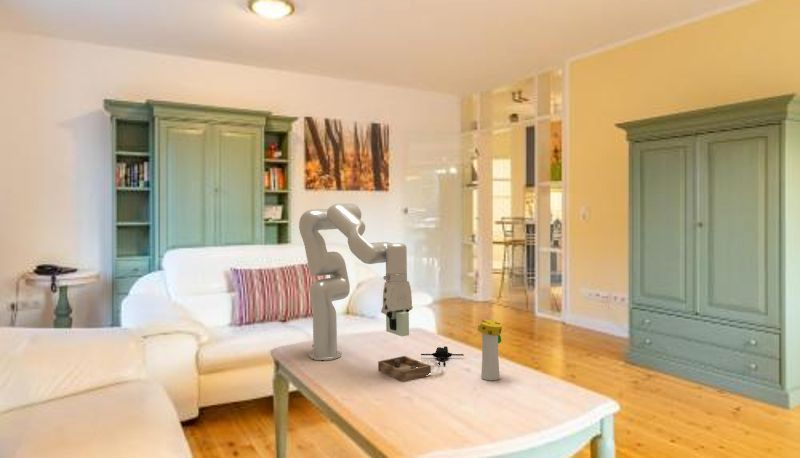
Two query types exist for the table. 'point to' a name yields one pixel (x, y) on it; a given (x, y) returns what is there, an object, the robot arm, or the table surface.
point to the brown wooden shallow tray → (404, 368)
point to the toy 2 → (490, 348)
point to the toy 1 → (443, 354)
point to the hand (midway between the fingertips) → (397, 328)
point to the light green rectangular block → (399, 323)
